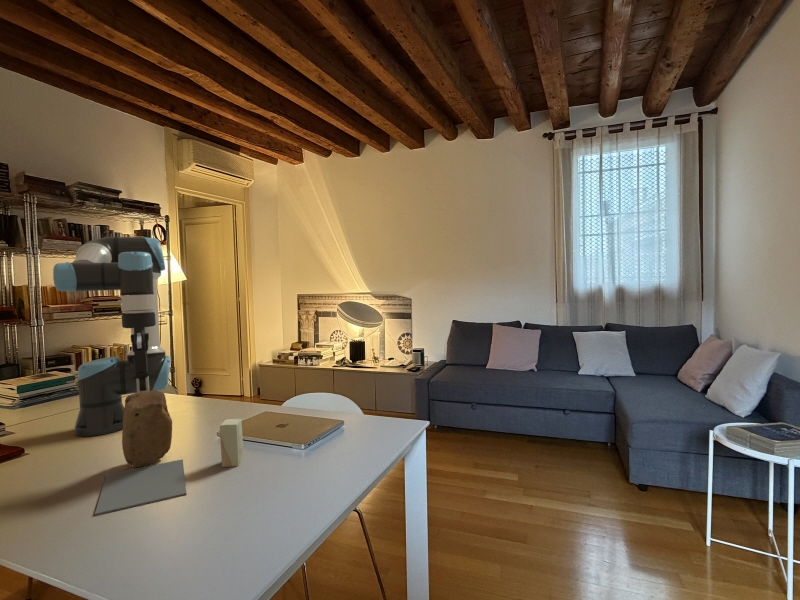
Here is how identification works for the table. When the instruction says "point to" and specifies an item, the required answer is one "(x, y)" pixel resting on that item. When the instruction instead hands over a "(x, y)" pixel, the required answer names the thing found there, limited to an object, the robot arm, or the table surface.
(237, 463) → the box
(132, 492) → the mat
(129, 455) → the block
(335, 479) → the table surface
